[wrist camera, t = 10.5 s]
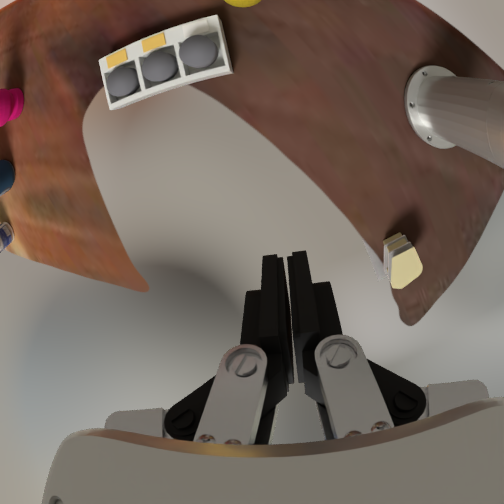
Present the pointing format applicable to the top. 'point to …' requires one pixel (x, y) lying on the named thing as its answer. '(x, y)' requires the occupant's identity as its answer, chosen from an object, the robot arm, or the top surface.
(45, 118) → the top surface
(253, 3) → the lemon
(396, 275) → the stacked layers on plate
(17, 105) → the pepper mill
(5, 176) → the soda can
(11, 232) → the pill bottle
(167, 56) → the middle button
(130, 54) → the button board
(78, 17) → the top surface
